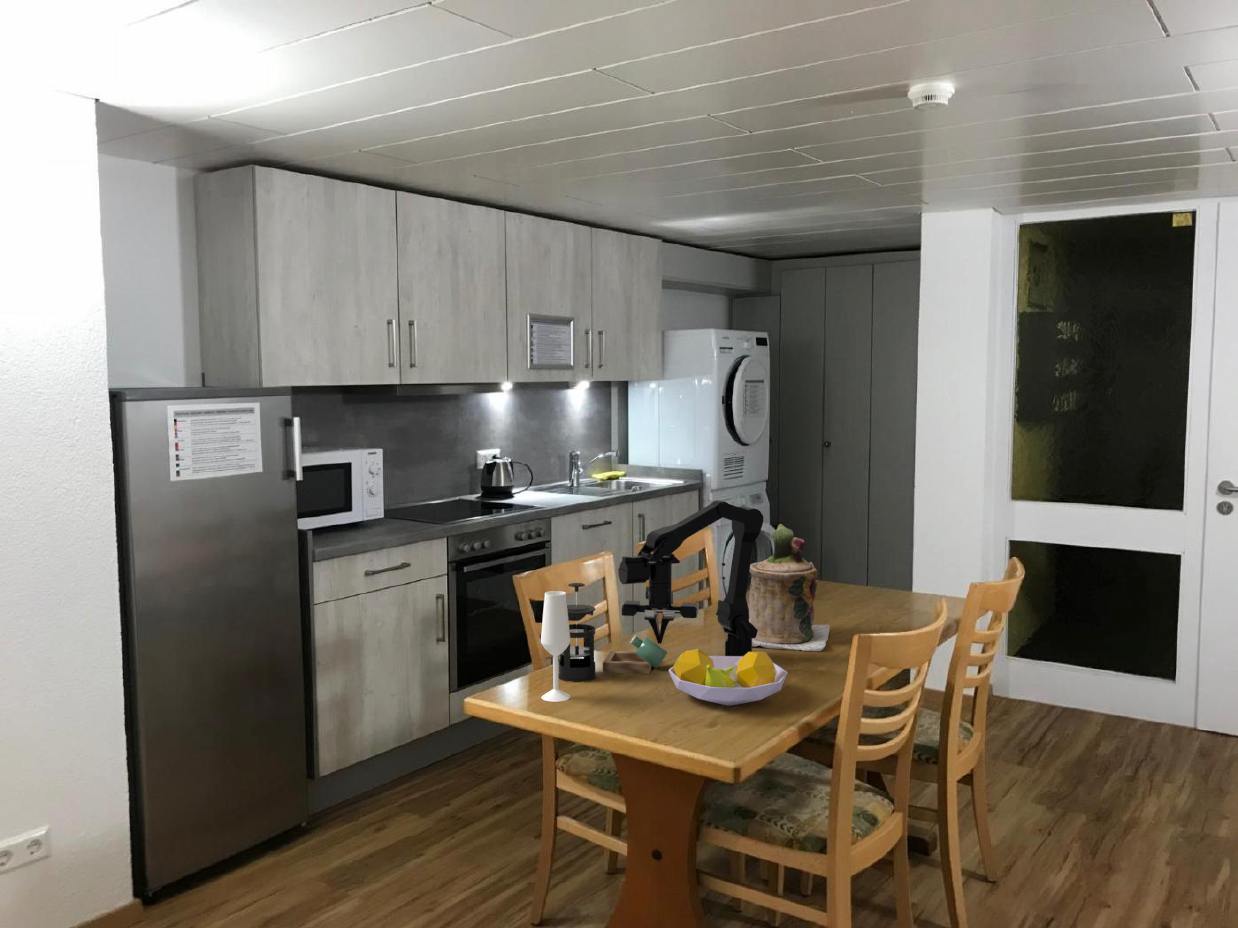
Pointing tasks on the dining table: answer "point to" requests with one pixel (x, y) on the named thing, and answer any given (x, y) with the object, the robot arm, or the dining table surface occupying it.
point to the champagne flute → (555, 637)
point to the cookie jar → (785, 598)
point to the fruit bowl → (727, 677)
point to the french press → (578, 666)
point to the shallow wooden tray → (625, 663)
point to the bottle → (649, 651)
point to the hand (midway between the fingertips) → (659, 643)
